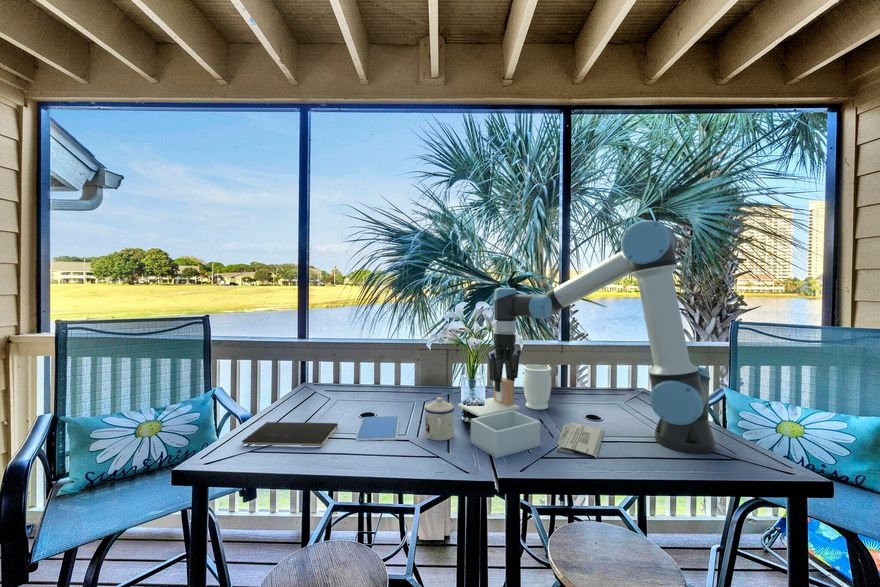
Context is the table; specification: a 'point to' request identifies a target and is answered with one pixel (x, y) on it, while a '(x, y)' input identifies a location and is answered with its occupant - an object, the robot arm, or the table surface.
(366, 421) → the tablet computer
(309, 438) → the hardcover book
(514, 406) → the lid
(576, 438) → the newspaper
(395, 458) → the table surface
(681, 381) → the robot arm
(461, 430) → the table surface
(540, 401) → the jar
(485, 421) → the parts tub
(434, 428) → the teacup with lid
